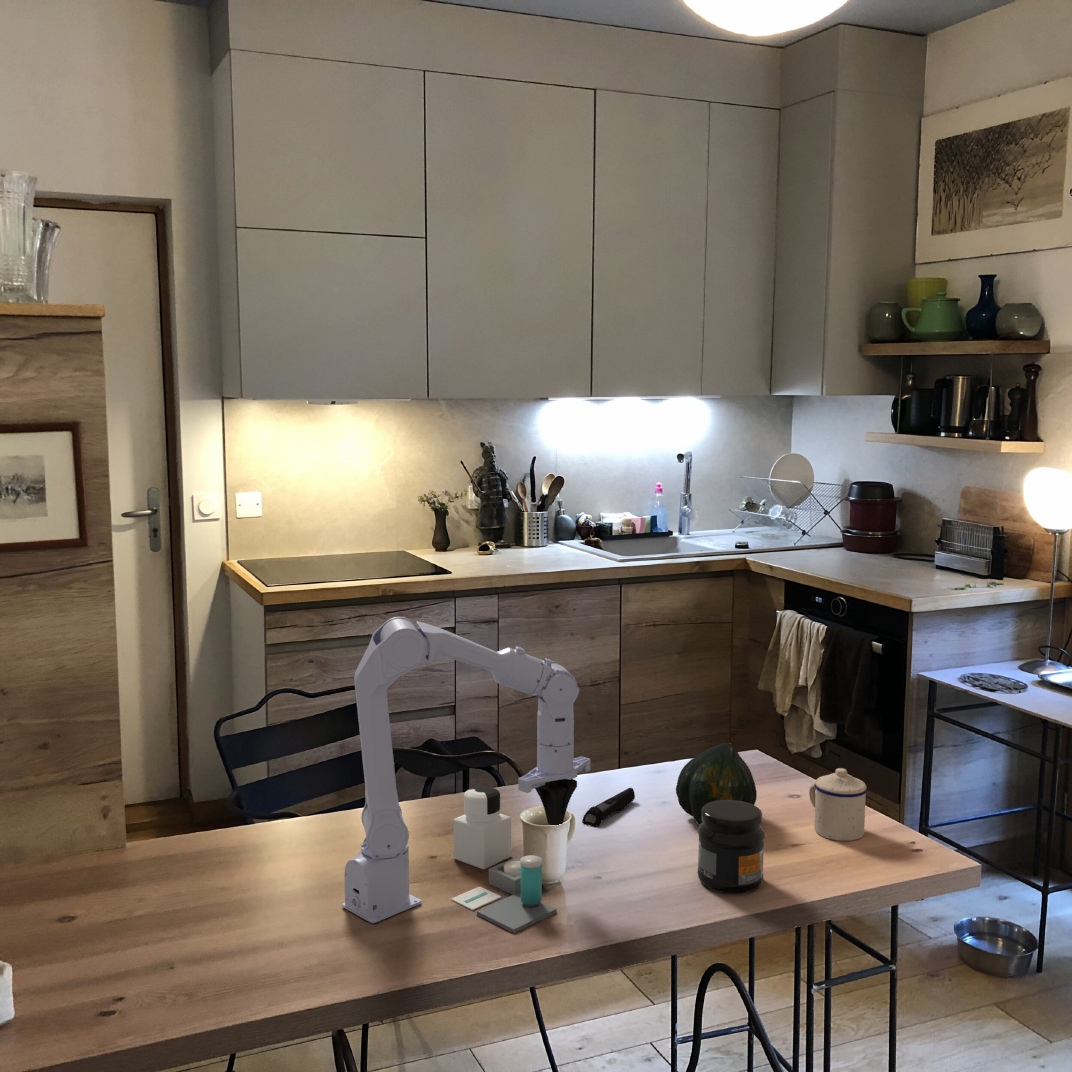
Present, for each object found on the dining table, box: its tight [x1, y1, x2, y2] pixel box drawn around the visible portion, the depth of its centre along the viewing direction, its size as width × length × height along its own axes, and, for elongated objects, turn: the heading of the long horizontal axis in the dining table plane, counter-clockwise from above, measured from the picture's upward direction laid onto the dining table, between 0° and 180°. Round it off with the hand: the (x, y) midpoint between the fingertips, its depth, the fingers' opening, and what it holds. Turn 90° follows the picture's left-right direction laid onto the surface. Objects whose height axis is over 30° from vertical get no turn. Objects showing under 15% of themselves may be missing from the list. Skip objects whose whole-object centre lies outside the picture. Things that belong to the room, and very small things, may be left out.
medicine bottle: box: [452, 785, 512, 870], centre depth 182 cm, size 7×7×12 cm
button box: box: [488, 857, 521, 896], centre depth 173 cm, size 6×6×2 cm
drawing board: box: [476, 892, 557, 934], centre depth 163 cm, size 9×8×1 cm
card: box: [450, 886, 502, 911], centre depth 168 cm, size 6×5×1 cm
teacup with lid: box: [808, 767, 868, 842], centre depth 194 cm, size 12×9×12 cm
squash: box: [675, 742, 758, 826], centre depth 199 cm, size 14×15×15 cm
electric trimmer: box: [581, 787, 636, 828], centre depth 203 cm, size 4×16×3 cm, turn 145°
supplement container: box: [697, 800, 766, 895], centre depth 173 cm, size 10×10×12 cm
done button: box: [504, 860, 521, 877], centre depth 173 cm, size 4×4×3 cm
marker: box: [520, 854, 543, 908], centre depth 164 cm, size 3×3×7 cm
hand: (555, 824), depth 171 cm, fingers closed
